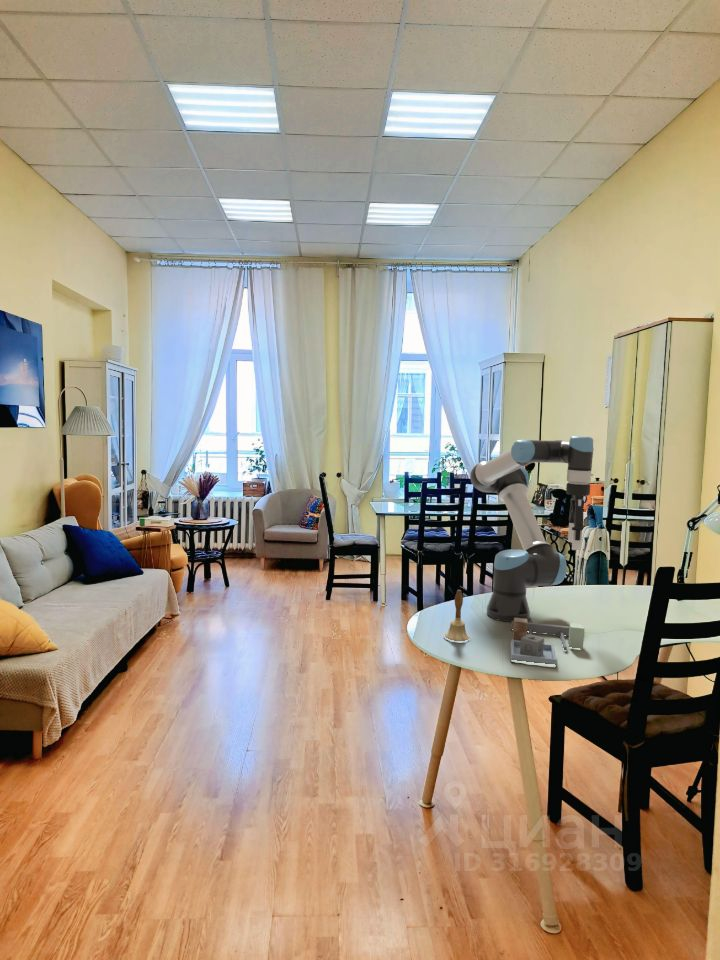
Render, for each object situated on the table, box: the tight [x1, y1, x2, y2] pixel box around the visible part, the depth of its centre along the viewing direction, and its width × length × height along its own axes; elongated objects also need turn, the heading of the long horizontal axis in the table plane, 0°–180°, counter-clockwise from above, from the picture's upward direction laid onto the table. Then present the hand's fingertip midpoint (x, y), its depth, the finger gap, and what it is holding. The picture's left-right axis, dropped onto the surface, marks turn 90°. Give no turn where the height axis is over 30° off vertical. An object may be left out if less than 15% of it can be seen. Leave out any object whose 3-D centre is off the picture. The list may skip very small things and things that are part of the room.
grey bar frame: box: [510, 621, 569, 651], centre depth 202 cm, size 22×16×3 cm
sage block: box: [567, 622, 585, 650], centre depth 197 cm, size 4×4×7 cm
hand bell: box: [444, 589, 470, 641], centre depth 201 cm, size 8×8×16 cm
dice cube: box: [520, 633, 545, 657], centre depth 187 cm, size 5×5×5 cm
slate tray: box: [510, 639, 558, 666], centre depth 188 cm, size 13×13×2 cm
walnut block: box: [512, 618, 528, 641], centre depth 201 cm, size 4×4×7 cm
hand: (574, 545), depth 212 cm, fingers open, 13 cm apart
